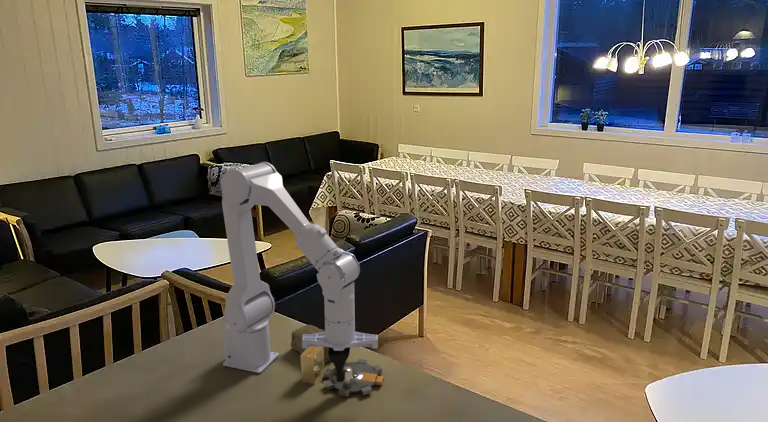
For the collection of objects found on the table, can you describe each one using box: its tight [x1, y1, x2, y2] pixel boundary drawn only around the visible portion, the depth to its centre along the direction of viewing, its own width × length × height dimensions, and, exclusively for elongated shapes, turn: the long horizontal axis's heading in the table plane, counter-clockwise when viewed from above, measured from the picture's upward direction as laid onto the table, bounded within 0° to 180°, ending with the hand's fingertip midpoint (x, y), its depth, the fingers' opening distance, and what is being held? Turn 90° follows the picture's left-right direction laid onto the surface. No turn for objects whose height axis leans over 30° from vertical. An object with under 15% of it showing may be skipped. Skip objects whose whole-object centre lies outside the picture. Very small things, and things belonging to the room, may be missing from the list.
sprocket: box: [323, 358, 385, 397], centre depth 111 cm, size 12×12×4 cm
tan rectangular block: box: [300, 347, 326, 385], centre depth 113 cm, size 3×4×6 cm, turn 160°
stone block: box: [290, 324, 332, 364], centre depth 122 cm, size 6×12×5 cm, turn 52°
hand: (341, 379), depth 108 cm, fingers closed, pressing on sprocket
